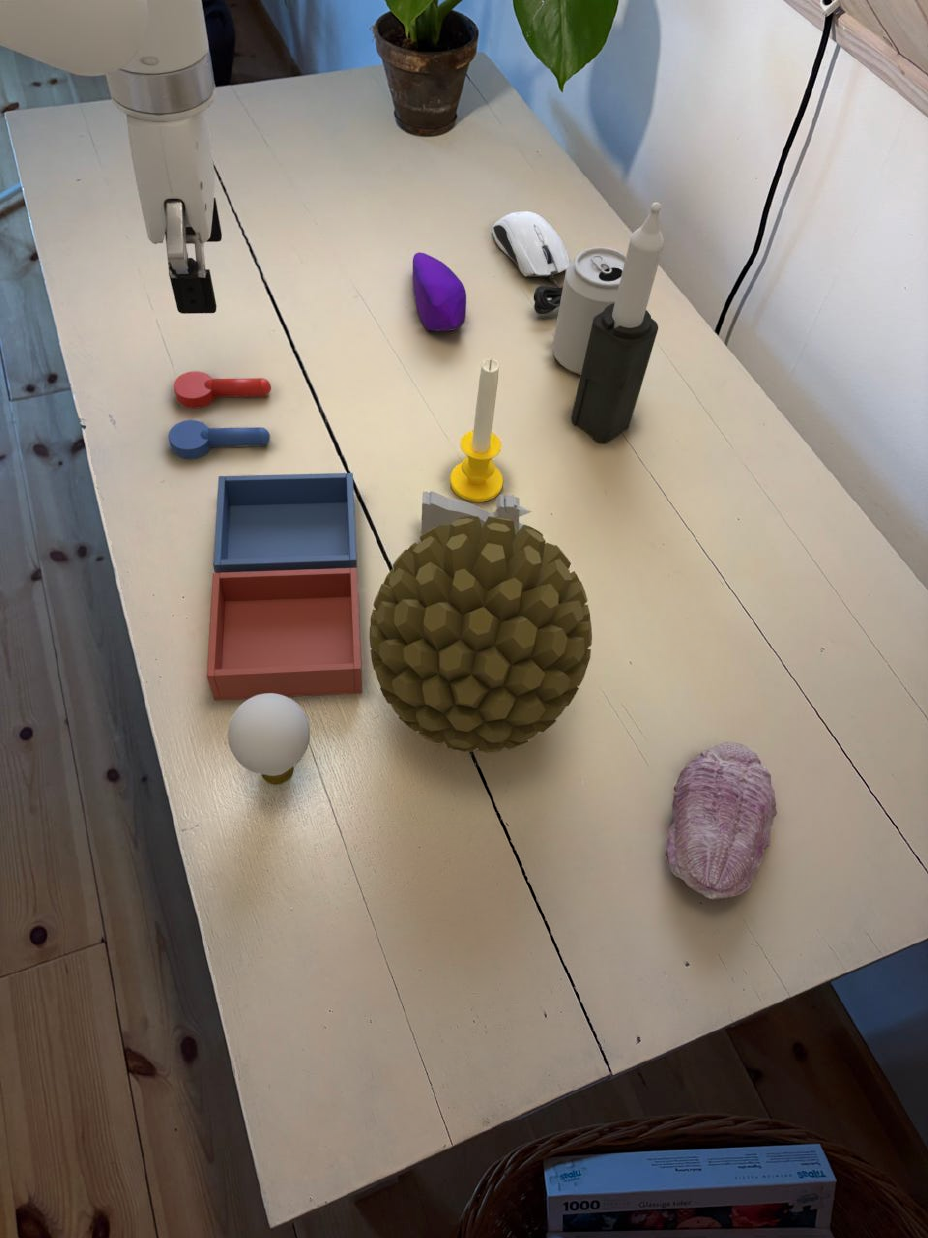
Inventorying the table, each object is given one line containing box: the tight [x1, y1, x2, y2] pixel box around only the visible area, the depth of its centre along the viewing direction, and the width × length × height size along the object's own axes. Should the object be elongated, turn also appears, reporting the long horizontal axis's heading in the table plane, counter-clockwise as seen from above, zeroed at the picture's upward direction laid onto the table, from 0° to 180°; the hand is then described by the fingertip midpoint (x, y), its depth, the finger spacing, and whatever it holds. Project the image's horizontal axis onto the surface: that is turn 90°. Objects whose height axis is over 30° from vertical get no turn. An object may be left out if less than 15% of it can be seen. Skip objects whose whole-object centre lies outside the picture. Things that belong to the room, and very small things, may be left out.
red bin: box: [206, 567, 363, 701], centre depth 80 cm, size 12×10×4 cm
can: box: [551, 246, 627, 376], centre depth 100 cm, size 8×8×12 cm
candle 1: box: [449, 357, 504, 503], centre depth 87 cm, size 5×5×16 cm
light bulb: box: [227, 693, 311, 786], centre depth 71 cm, size 6×6×10 cm
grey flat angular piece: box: [420, 490, 532, 537], centre depth 87 cm, size 6×1×10 cm
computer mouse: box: [491, 210, 572, 316], centre depth 111 cm, size 10×18×4 cm, turn 27°
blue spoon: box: [168, 419, 271, 460], centre depth 93 cm, size 10×4×2 cm, turn 96°
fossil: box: [665, 741, 778, 901], centre depth 73 cm, size 8×14×5 cm, turn 159°
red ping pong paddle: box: [173, 370, 272, 409], centre depth 97 cm, size 10×4×2 cm, turn 96°
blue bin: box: [212, 472, 358, 573], centre depth 86 cm, size 12×10×4 cm
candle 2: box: [570, 201, 665, 444], centre depth 89 cm, size 5×5×25 cm
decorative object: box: [368, 516, 593, 754], centre depth 71 cm, size 17×17×20 cm
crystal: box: [412, 252, 467, 332], centre depth 106 cm, size 5×5×15 cm
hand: (201, 274), depth 83 cm, fingers open, 9 cm apart
